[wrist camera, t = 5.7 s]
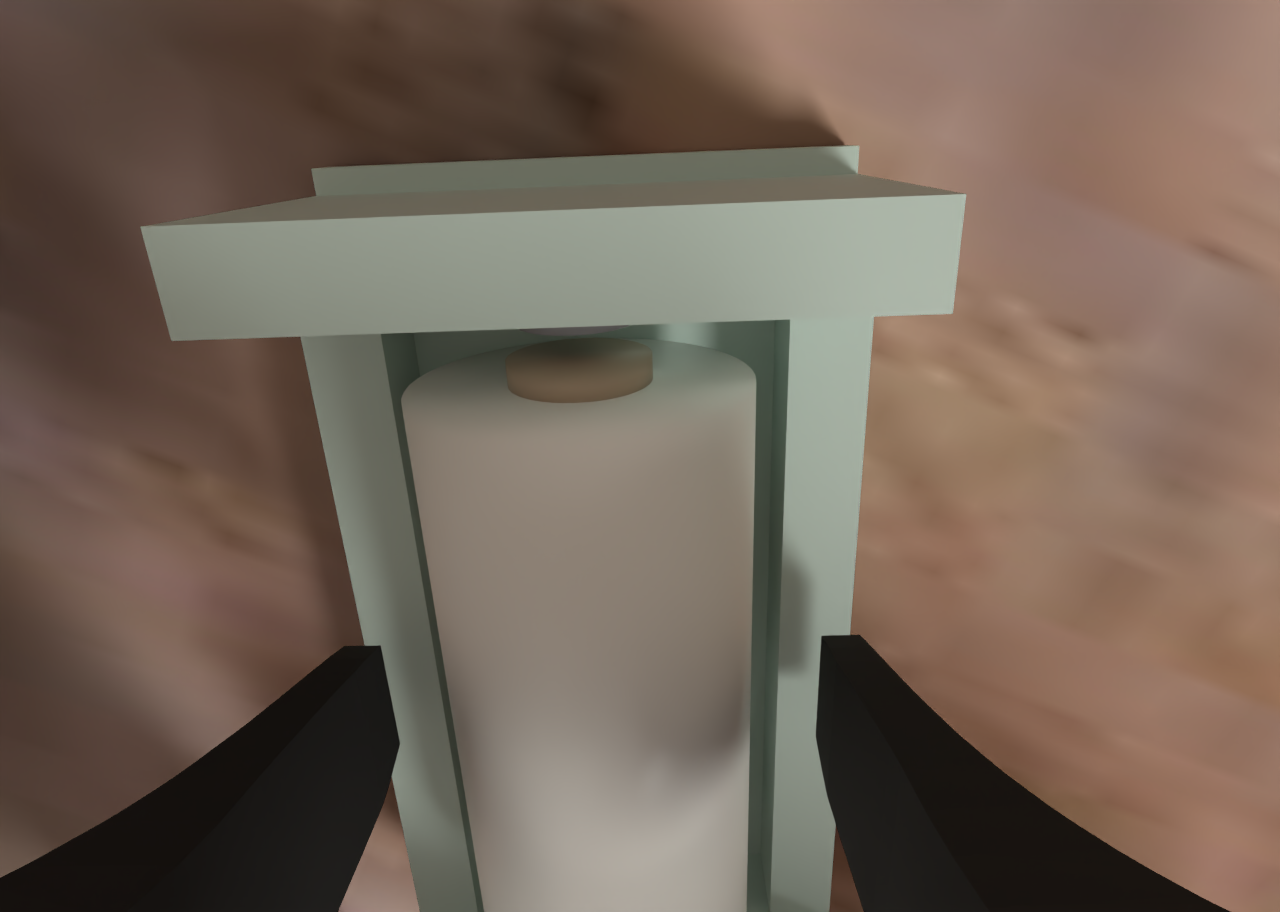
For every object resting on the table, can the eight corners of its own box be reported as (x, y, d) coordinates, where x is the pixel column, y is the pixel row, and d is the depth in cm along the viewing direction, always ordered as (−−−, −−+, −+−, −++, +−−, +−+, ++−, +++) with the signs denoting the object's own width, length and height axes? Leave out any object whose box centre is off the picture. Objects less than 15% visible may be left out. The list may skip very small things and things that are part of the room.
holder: (805, 873, 19) (859, 1136, 14) (457, 877, 19) (388, 1137, 14) (846, 145, 12) (970, 150, 8) (331, 166, 13) (128, 185, 8)
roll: (750, 818, 16) (740, 1067, 12) (531, 796, 17) (448, 1022, 13) (760, 316, 12) (751, 417, 8) (474, 317, 13) (323, 409, 9)
